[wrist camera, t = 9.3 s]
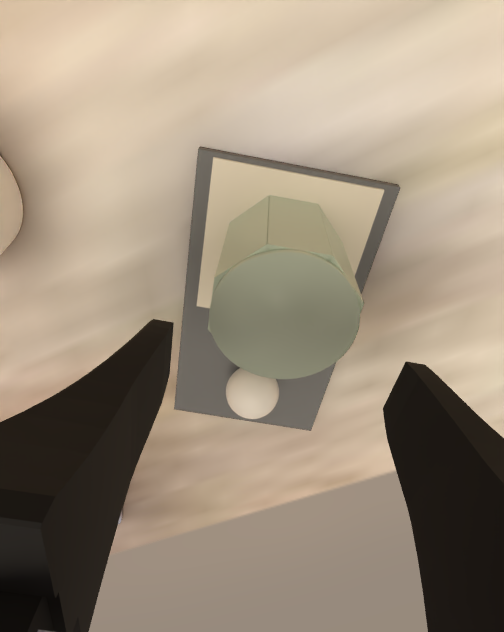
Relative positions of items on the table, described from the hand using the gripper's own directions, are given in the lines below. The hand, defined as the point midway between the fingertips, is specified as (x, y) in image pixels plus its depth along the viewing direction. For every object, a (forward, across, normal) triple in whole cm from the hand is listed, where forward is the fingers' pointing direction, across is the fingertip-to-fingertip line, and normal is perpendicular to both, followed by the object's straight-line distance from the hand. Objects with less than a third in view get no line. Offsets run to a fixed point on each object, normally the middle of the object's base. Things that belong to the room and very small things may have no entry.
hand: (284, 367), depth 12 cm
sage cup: (+8, 0, 0) cm, 8 cm away
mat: (+9, 0, +4) cm, 10 cm away
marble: (+7, 0, +8) cm, 11 cm away
